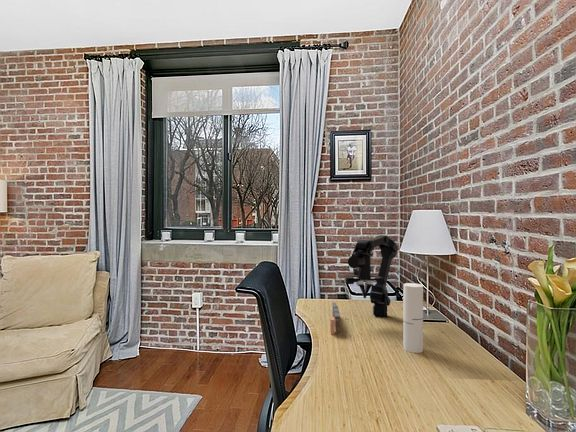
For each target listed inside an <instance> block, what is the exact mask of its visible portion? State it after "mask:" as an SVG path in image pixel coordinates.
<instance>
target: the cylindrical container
mask: <svg viewBox="0 0 576 432" xmlns="http://www.w3.org/2000/svg"><path fill="white" fill-rule="evenodd" d="M402 285H403V291H402V292H403V295H402V296H403V299H402V300H403V301H402V302H403V303H402V304H403V307H402V308H403V309H402V310H403V315H402V316H403V322H402V323H403V325H402V326H403V330H402V331H403V332H402V334H403V336H402V337H403V338H402V341H403V345H402V347H403V350H404V351H406V352H408V353H414V354H420V353H422V352H423V351H424V285H423V284H421V283H414V282H405V283H403V284H402Z"/></svg>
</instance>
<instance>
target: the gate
mask: <svg viewBox="0 0 576 432" xmlns="http://www.w3.org/2000/svg"><path fill="white" fill-rule="evenodd" d="M333 309H334V319H335V333H340V331H341V329H340V327H341V325H340V323H341V322H340V321H341V314H340V310H339V306H337V307H333V306H332V310H333Z"/></svg>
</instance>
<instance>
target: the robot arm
mask: <svg viewBox="0 0 576 432" xmlns="http://www.w3.org/2000/svg"><path fill="white" fill-rule="evenodd" d="M376 247H378V248H379V250H380V255H381V262H380V266H379V269H378V274H377V276H374V278H372V263H371V262H372V260H371V259H372V257H373V256H374V255H373V254H372V252H373V251H374V250H375V248H376ZM398 251H399V247H398V245H397V243H396V241H394V240H393V239H391V238H390V237H389V236H388V235H378V236H375V237H372V238H370V239H358V240H357V241H356V243H355V246H354V249H353V251H352V253H351V255H350V256H349V257H348V259H347V264H348V267H349V268H351V269H353V271H352V275H353V276H352V275H350V276H349V275H348V276H347V275H346V276H345V277H344V283H345V284H346V285H353V284H354V283H355V284H356V285H357V287H359V289H360V290H361V294H362V297H363V299H366V298H367V296H368V293H369V299H370V304H373V305H372V315H373V316H374V317H375V318H389V315H388V306H390V305H391V301H392V300H391V299H390V297H389V295H388V293H389V292H388V289H387V282H388V277H389V275H390V274H389V273H390V270H391V269H390V268H391V264H392V260H393V259H394V258H395V257H397V256H396V255H397V254H398V253H397V252H398ZM355 276H356V278H355ZM373 283H375V284H373Z"/></svg>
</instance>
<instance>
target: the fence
mask: <svg viewBox="0 0 576 432" xmlns="http://www.w3.org/2000/svg"><path fill="white" fill-rule="evenodd" d="M333 307H338V305H337V302H332V316H330V318H329V319H330V335H335V334H336V330H335V319H334V309H333Z"/></svg>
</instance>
